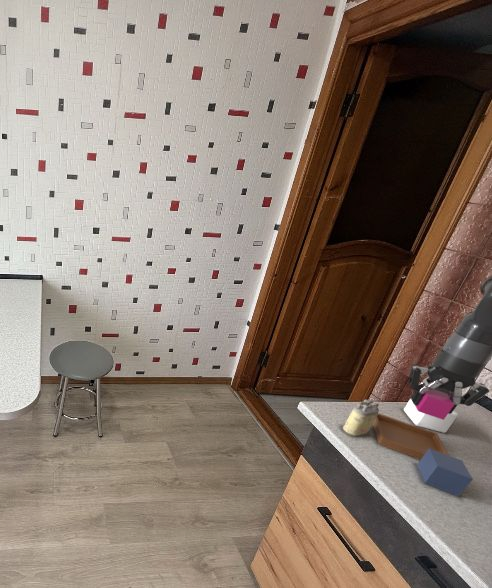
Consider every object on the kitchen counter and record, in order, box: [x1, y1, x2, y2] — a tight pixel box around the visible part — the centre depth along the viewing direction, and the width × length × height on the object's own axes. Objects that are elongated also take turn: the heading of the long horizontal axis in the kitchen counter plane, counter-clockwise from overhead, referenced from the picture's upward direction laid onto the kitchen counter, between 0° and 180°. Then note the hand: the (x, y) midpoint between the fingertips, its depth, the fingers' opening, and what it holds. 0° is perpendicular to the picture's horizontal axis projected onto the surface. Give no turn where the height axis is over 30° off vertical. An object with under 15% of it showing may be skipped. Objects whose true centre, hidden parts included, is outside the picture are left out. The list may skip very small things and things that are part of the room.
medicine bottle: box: [403, 387, 459, 434], centre depth 96 cm, size 7×7×12 cm
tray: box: [372, 412, 449, 461], centre depth 90 cm, size 14×12×2 cm
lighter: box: [342, 399, 380, 437], centre depth 91 cm, size 7×4×10 cm, turn 105°
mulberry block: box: [415, 389, 454, 420], centre depth 85 cm, size 5×5×5 cm
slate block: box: [416, 448, 474, 497], centre depth 79 cm, size 6×6×6 cm
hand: (428, 407), depth 86 cm, fingers closed on mulberry block, 5 cm apart
